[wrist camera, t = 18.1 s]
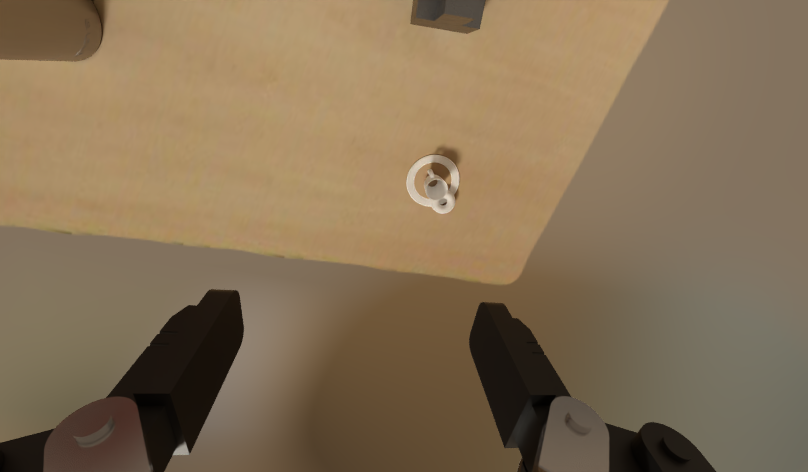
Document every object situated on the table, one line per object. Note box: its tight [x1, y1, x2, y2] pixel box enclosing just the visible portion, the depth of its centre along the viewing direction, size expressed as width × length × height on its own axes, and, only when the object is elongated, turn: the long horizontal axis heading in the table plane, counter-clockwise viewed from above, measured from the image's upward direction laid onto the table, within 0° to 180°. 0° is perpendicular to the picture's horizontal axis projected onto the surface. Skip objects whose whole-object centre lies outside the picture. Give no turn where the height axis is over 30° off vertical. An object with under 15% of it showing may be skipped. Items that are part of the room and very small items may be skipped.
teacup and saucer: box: [406, 155, 459, 214], centre depth 45 cm, size 9×8×4 cm
